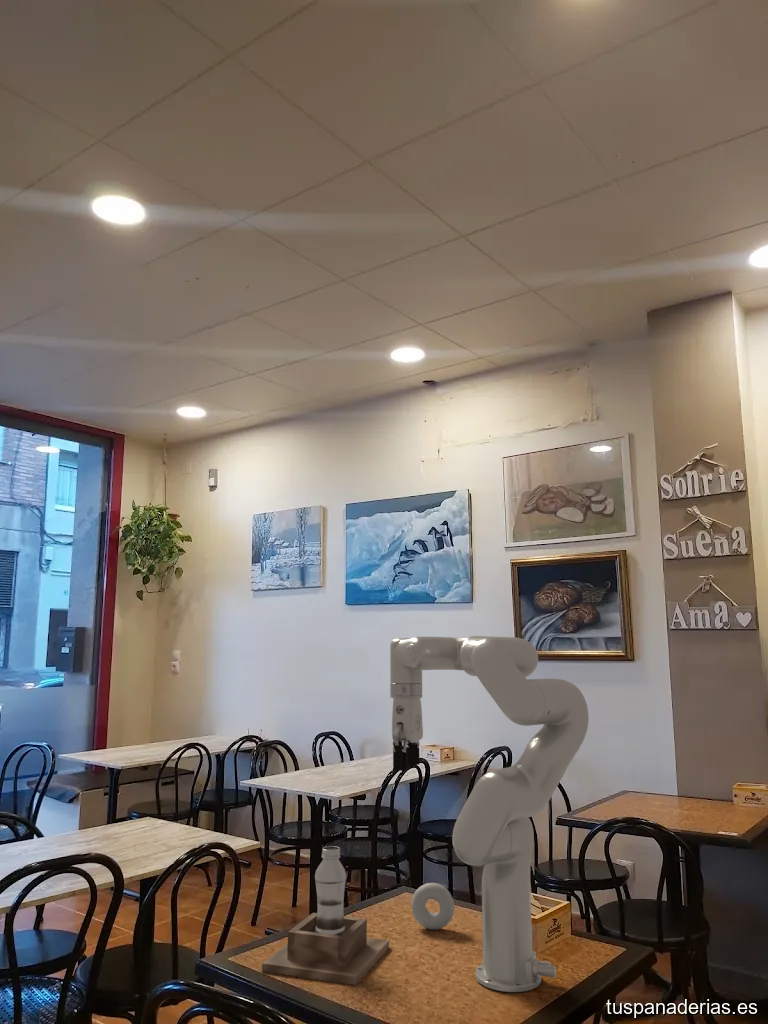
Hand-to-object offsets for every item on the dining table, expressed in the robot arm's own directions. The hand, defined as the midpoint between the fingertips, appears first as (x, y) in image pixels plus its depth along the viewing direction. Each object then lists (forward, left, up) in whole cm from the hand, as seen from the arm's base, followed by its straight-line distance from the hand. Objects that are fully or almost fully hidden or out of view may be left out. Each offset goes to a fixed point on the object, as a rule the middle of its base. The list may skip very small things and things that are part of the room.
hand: (406, 767), depth 178 cm
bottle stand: (+12, +17, -36) cm, 42 cm away
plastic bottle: (+12, +16, -35) cm, 40 cm away
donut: (-4, -7, -36) cm, 37 cm away
